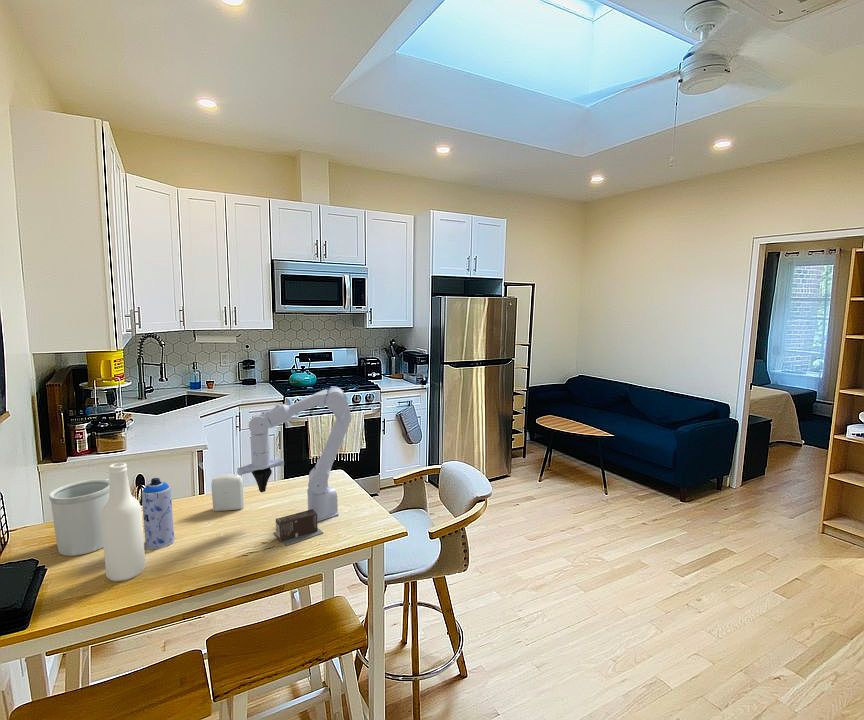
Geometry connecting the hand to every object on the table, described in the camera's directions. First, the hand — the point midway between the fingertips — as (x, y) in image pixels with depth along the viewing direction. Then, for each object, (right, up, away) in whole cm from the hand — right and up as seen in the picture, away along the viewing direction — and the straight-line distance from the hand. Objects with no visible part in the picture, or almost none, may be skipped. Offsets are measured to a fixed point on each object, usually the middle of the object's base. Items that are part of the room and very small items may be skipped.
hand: (262, 491), depth 153 cm
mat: (+14, -11, -7) cm, 19 cm away
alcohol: (-26, -14, -28) cm, 41 cm away
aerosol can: (-26, -12, -13) cm, 31 cm away
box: (+9, -9, -12) cm, 17 cm away
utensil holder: (-47, -12, -14) cm, 51 cm away
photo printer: (-16, -9, +10) cm, 21 cm away
